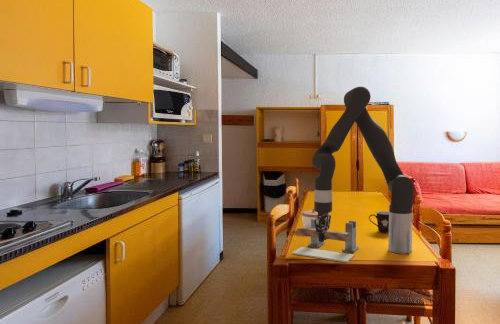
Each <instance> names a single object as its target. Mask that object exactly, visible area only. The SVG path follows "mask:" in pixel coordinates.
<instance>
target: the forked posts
mask: <svg viewBox="0 0 500 324" xmlns="http://www.w3.org/2000/svg"><path fill="white" fill-rule="evenodd" d="M315 220H317V217H315V219H311V228H314V229H316V227H315ZM344 226H345V228H344V229H345V231H344V232H347V233H349V241H347V242H346V241H344V243H345V244H344V247H343V248H342V249H341V250H342V251H341V253H348V254H354V253H356V252H357V251H358V250H359V248H360V247H359V246H357V221H356V220H348V222H345V225H344ZM324 245H325V241H324V242H319V238H316V237H310V243H308V244H307V248H314V247H315V248H314V249H319V248H321V247H322V246H324Z"/></svg>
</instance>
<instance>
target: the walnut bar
mask: <svg viewBox="0 0 500 324" xmlns="http://www.w3.org/2000/svg"><path fill="white" fill-rule="evenodd" d="M296 232H297V236H302V237H310V238H311V237H316V238H319V233H318V232H316V229H314V228H306V227H305V226H299V227H297V231H296ZM324 239H327V240H332V241H338V242H345V241H346V242H347V241H349V233H347V232H345V231H339V230H338V231H337V230H331V229H330V230H329V229H328V230H324Z"/></svg>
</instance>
